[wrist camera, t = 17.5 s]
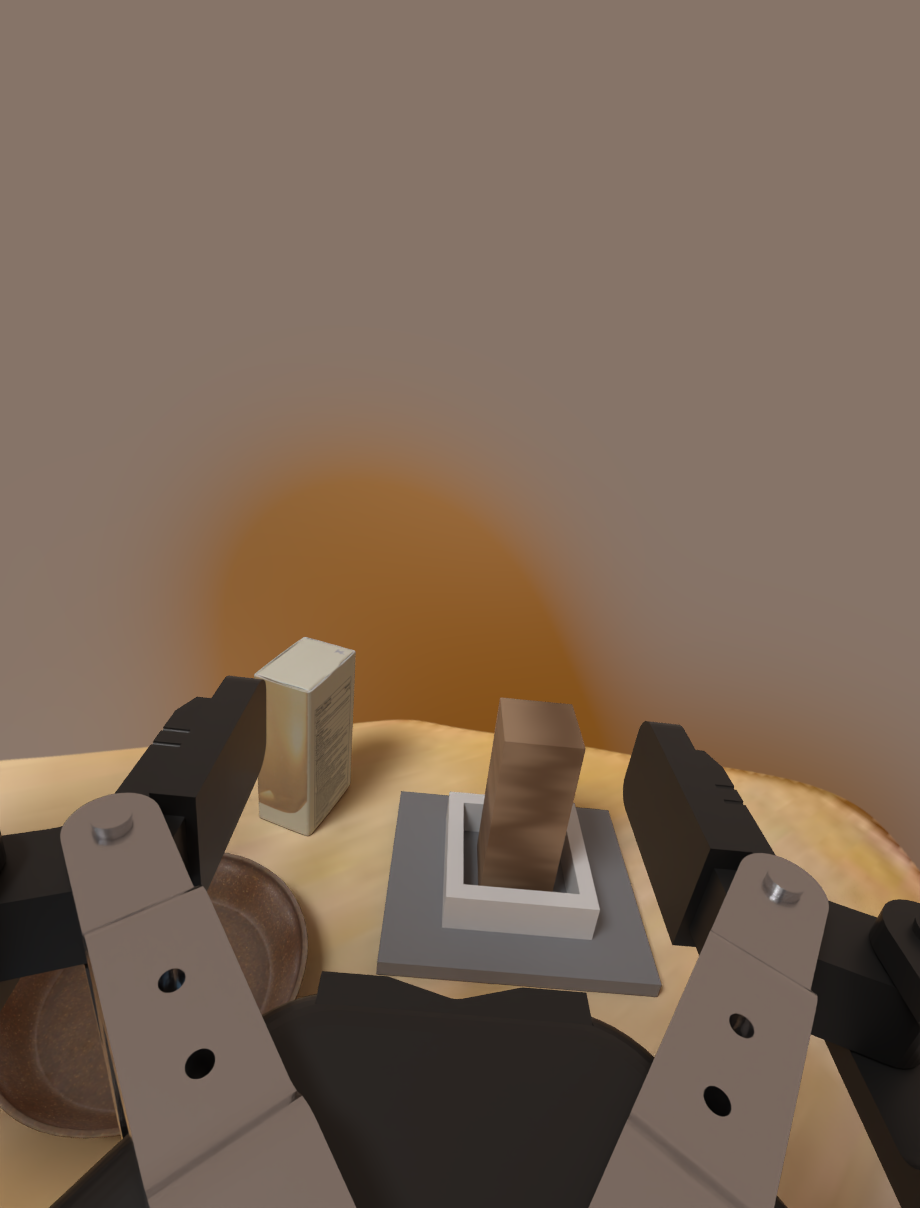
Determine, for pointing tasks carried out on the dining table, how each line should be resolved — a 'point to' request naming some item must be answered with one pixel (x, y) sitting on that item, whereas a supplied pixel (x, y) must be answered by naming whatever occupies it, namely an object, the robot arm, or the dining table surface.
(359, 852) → the dining table surface
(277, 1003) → the saucer
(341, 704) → the skincare box
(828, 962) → the robot arm
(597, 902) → the collar holder
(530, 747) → the walnut square peg
